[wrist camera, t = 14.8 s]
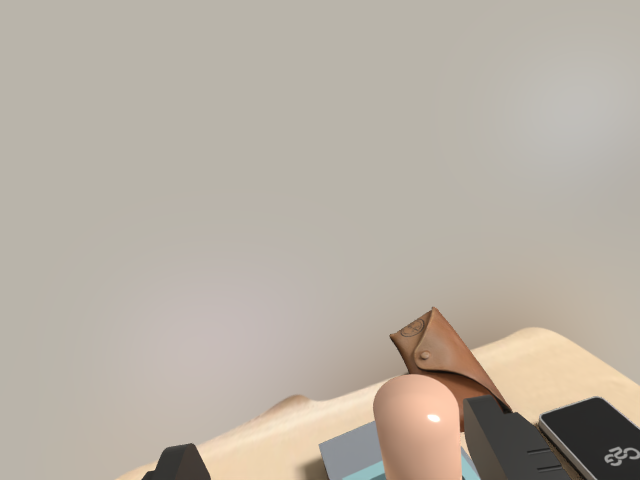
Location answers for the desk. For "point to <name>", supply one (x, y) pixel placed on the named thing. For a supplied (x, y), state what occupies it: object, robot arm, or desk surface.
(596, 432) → the external hard drive
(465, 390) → the sunglasses case
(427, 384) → the glossy peach cylinder
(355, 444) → the platform
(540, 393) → the desk surface
